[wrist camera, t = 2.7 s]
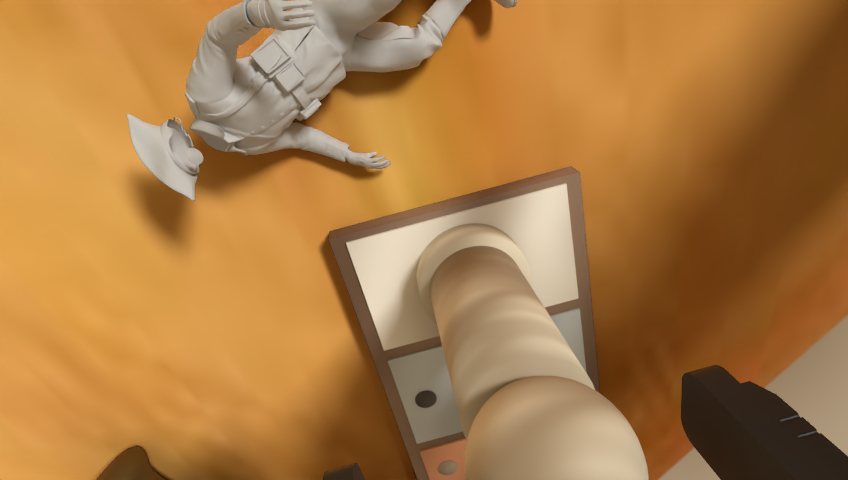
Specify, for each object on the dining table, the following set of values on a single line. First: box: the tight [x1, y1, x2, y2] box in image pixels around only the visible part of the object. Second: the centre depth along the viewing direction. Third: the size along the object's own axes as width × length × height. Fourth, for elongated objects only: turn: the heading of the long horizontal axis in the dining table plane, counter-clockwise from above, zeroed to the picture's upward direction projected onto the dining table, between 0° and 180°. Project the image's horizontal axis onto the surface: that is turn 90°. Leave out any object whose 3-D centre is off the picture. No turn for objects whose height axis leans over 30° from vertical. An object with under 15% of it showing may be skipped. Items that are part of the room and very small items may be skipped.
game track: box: [329, 166, 600, 480], centre depth 22 cm, size 10×18×1 cm, turn 14°
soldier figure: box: [127, 0, 517, 201], centre depth 14 cm, size 8×5×12 cm
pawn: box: [416, 223, 649, 480], centre depth 14 cm, size 4×4×11 cm
